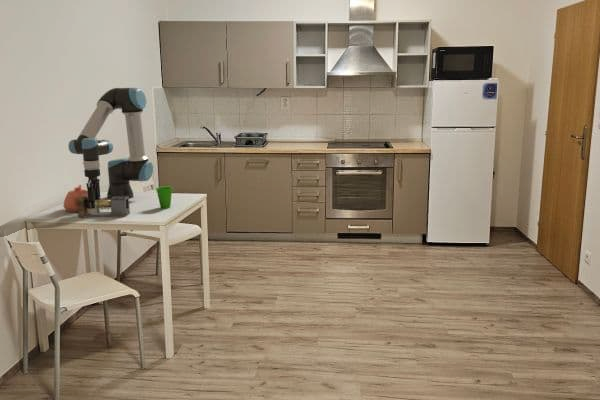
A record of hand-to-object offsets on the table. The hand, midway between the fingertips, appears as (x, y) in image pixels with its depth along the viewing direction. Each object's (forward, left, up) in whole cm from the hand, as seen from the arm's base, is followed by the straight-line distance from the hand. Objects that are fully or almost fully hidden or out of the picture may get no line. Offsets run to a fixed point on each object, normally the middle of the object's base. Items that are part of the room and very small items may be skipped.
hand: (95, 213), depth 284 cm
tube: (0, +3, +2) cm, 4 cm away
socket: (0, -6, -1) cm, 6 cm away
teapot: (-14, -13, -1) cm, 20 cm away
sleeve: (0, +13, -1) cm, 13 cm away
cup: (-16, +33, -1) cm, 37 cm away
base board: (0, +5, -1) cm, 5 cm away
